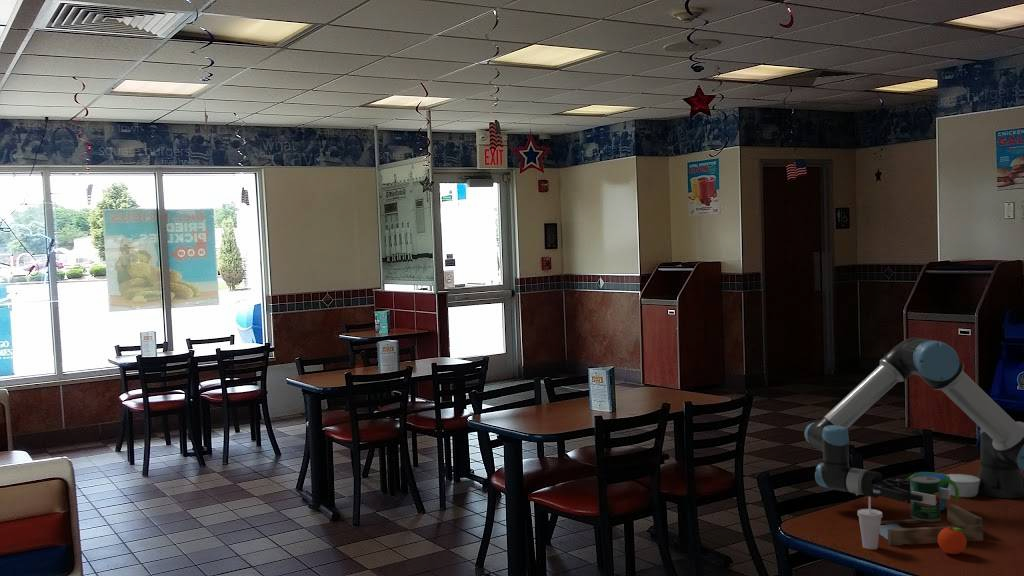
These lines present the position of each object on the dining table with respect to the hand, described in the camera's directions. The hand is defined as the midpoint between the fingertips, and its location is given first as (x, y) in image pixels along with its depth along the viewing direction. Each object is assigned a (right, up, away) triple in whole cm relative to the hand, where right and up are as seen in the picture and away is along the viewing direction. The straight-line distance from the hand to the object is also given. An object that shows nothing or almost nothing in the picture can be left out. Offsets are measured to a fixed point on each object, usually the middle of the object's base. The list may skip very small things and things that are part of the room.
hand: (942, 497), depth 252 cm
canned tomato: (-3, -7, +4) cm, 8 cm away
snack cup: (+9, -10, +25) cm, 28 cm away
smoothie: (-24, -12, -9) cm, 28 cm away
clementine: (-4, -12, -15) cm, 19 cm away
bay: (-5, -11, +3) cm, 12 cm away
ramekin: (+26, -9, +40) cm, 49 cm away
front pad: (-13, -11, +2) cm, 17 cm away
